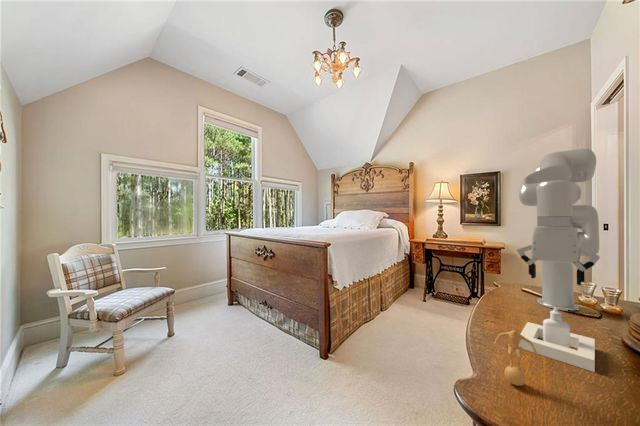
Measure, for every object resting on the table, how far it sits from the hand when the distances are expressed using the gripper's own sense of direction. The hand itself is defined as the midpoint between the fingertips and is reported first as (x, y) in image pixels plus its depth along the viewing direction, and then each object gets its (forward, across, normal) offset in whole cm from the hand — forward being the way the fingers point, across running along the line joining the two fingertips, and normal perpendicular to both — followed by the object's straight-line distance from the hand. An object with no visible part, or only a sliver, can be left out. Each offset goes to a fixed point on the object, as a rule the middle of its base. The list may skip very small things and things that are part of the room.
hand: (555, 280), depth 71 cm
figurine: (+20, +5, +26) cm, 33 cm away
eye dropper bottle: (+20, 0, 0) cm, 20 cm away
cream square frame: (+20, 0, 0) cm, 20 cm away
